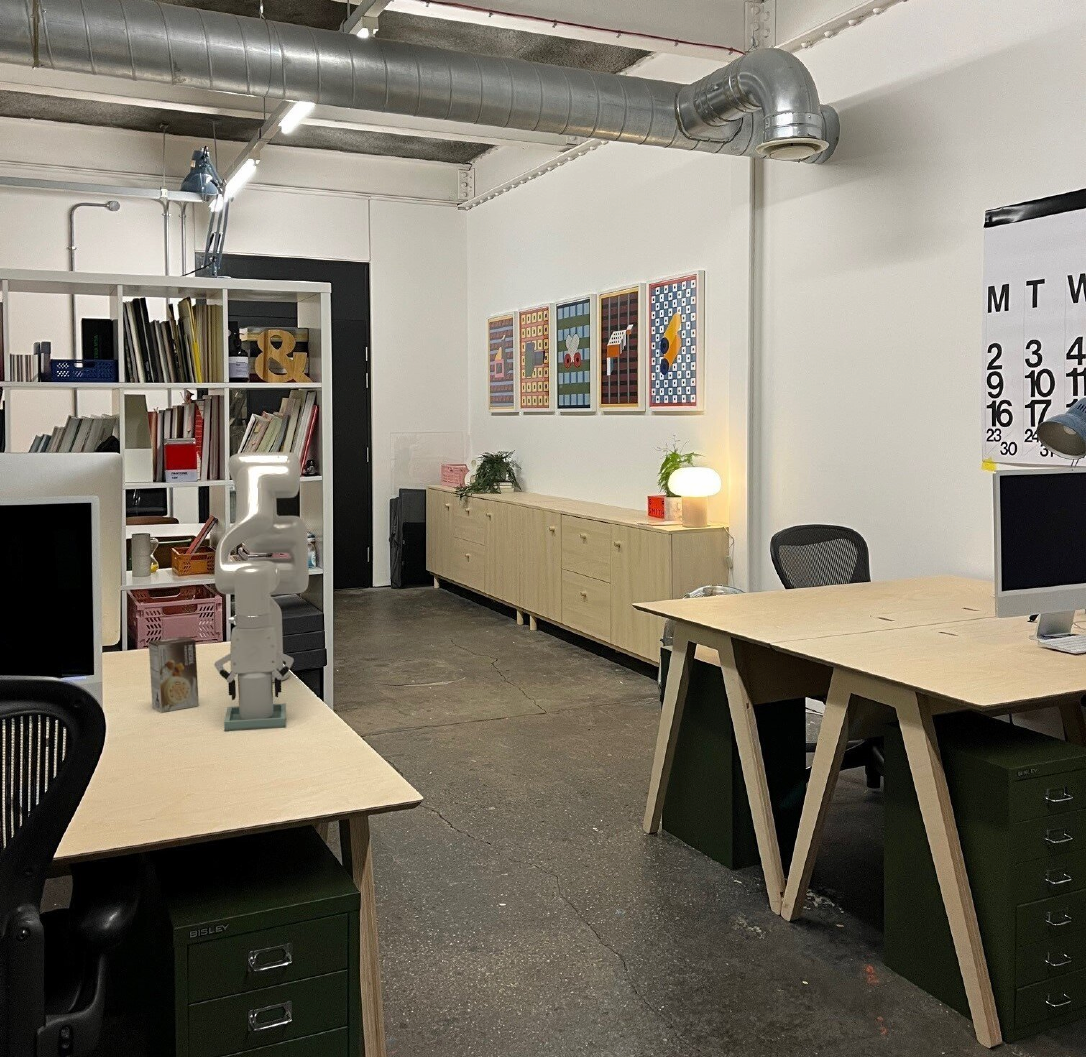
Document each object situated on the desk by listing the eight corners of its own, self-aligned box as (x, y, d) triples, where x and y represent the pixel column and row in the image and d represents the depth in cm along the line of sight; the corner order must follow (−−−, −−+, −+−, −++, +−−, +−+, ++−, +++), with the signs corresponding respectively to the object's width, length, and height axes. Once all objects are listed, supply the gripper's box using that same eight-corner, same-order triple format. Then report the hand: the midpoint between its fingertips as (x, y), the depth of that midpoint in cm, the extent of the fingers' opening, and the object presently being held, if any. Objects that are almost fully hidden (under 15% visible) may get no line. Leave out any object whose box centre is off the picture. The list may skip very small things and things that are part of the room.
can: (280, 716, 249) (279, 664, 247) (256, 725, 243) (253, 672, 241) (257, 711, 253) (255, 660, 251) (232, 720, 247) (230, 667, 245)
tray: (227, 715, 253) (227, 706, 252) (285, 711, 255) (285, 703, 255) (224, 731, 240) (224, 722, 240) (285, 727, 243) (285, 718, 243)
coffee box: (188, 700, 265) (186, 635, 264) (199, 706, 260) (197, 639, 259) (150, 707, 260) (148, 640, 258) (161, 713, 255) (158, 645, 253)
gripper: (211, 626, 240) (214, 703, 242) (293, 622, 244) (295, 699, 245) (213, 620, 247) (216, 695, 249) (292, 616, 251) (294, 690, 253)
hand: (255, 696), depth 247 cm, fingers open, 9 cm apart
